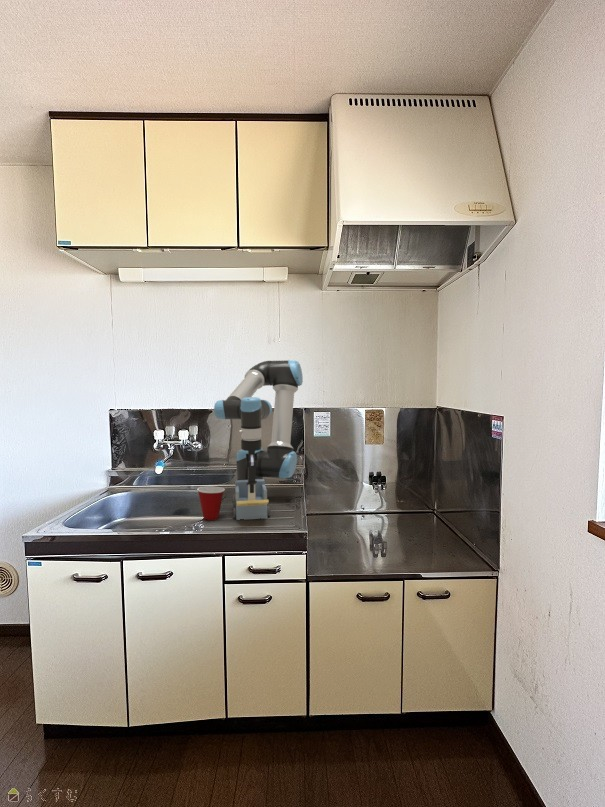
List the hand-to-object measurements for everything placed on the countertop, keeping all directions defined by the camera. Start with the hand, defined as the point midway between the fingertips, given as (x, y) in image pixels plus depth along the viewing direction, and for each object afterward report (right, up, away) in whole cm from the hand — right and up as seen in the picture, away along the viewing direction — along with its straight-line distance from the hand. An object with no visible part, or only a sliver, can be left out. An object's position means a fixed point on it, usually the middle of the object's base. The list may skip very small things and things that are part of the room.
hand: (251, 500), depth 178 cm
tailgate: (0, -2, +5) cm, 5 cm away
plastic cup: (-17, -9, +7) cm, 20 cm away
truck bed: (-2, -8, +13) cm, 15 cm away
